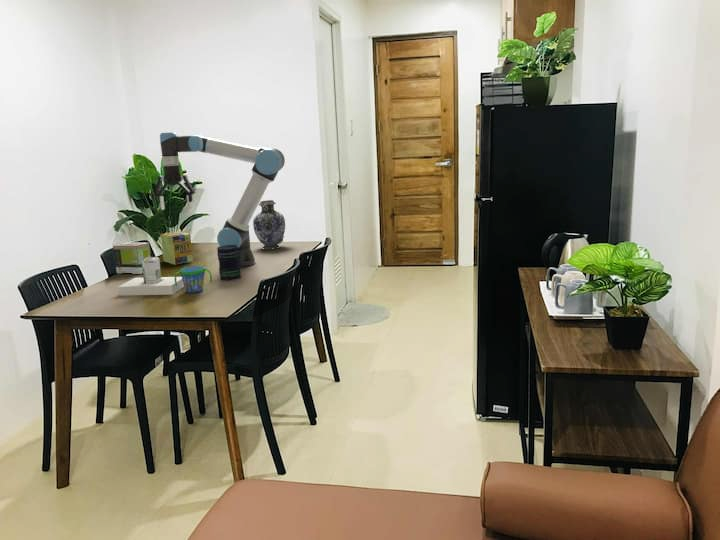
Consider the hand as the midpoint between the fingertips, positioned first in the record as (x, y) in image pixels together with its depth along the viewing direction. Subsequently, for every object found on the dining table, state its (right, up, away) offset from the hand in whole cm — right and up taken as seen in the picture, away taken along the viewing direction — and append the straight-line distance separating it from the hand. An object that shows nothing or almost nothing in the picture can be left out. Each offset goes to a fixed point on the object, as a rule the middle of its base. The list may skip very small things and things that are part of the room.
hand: (176, 209), depth 293 cm
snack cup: (+18, -39, -32) cm, 53 cm away
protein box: (-9, -25, +34) cm, 43 cm away
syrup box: (-2, -39, -27) cm, 47 cm away
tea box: (-25, -31, +13) cm, 42 cm away
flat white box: (-2, -39, -27) cm, 47 cm away
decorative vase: (+38, -17, +60) cm, 73 cm away
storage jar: (+29, -34, -10) cm, 46 cm away
